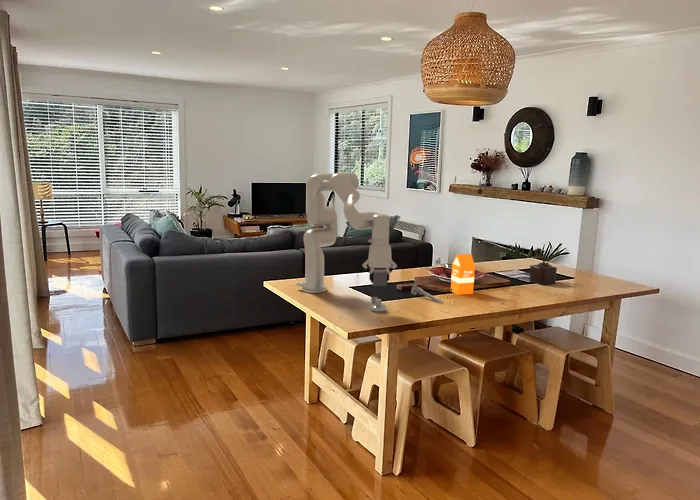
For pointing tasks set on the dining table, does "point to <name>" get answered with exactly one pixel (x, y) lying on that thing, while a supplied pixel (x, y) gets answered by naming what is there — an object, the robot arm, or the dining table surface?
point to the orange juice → (463, 274)
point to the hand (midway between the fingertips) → (379, 281)
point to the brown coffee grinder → (542, 271)
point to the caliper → (423, 293)
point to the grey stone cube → (379, 278)
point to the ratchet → (377, 305)
